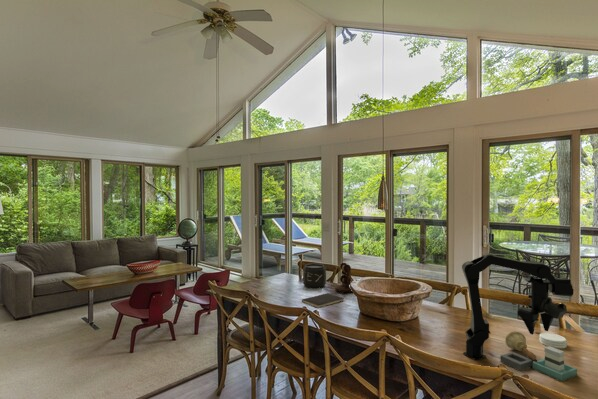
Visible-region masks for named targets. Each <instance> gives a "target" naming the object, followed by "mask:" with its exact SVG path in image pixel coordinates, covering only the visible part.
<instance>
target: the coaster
mask: <svg viewBox="0 0 598 399" xmlns="http://www.w3.org/2000/svg"><path fill="white" fill-rule="evenodd" d="M539 343H541V344H542V345H544V346H545V347H548V346H550V347H553V348H556V349H559V350H560V349H561V350H562V349H566V348H567V346H568V345H567V344H568V340H567V339H566V337H564V336H562V335H560V334H556V333H552V332H541V333H539Z"/></svg>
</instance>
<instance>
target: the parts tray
mask: <svg viewBox="0 0 598 399" xmlns="http://www.w3.org/2000/svg"><path fill="white" fill-rule="evenodd" d="M564 368H565V372H562V373H559V372H557V371H554V370H552V369H549V368H547V367H545V357H544V358H542V359H539V360H538V359H537V361H536V362H534V361H533V367H532V370H535V371H537V372H539V373H541V374H543V375H546V376H549V377H550V378H553V379H555V380H558V381H560V382H564V381H567V380H569V379H572V378H575V377H577V376H578V368H576V367H574V366H572V365H569V364H566V363H564Z"/></svg>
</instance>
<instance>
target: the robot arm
mask: <svg viewBox="0 0 598 399" xmlns="http://www.w3.org/2000/svg"><path fill="white" fill-rule="evenodd" d="M492 265H494V266H498V267H503V268H507V269H511V270H517V271H521V272H524V273H526V274H528V275H529V276H528V277H526V278H525V279H524V281H525V282H527V283H530V294H528V298H529V299H530V304H528V305H527V306H528V308H527V307H522V308H518V309H517V310H516V312H517V313H516V315H517V316H519V318H521V319H522V321H523V322H524V325H525V326H526V328H527V330H528V331H527V332H529V335H534V334H535V326H536V322H538V321H539V316H540V319H541V322H542V326H543V329H544V331H545V332H549V329H550V328H551V324H552V322H553V320H554V319H557V320H558V319H563V318H564V316H565V315H566V314H567V313H568V311H567V305H566V304H564V303H554V302H553V299H552V297H550V296H549V293H551V294H552V295H553V296H558V297H559V296H561V297H571V298H572V297H573V295H574V287H573V285H572V281H571V279H569V278H565V277H563V278H560V277H559V278H556V277H555V276H554V275H553V274H552V269H551V268H550V267H549V265H547V264H545V263H543V262H541V261H533V260H531V261H530V260H527V261H526V260H525V261H524V260H517V259H512V258H507V257H504V256H500V255H499V256H498V255H494V254H491V253H484V254H483V255H482V256H479V257H476V258H474V259H473V260H470V261H465V262H463V264H462V265H461V269H462V273H463V275H464V278H465V281H466V283H467V288H468V289H467V290H468V296H469V303H470V309H471V310H470V311H471V320H470V328H468V329H467V330H466V331H465V332H464V333H465V336H466V337H467V339H466V341H465V351H462V354H463V355H465V356H466V357H469V358H471V359H473V360H475V361H478V360H481V359H485V358H487V355H485V354H484V344H485V341H487V340H488V339H489V337H490V334H491V331H490V323H489V322H488V320H487V319H486V318H484V316H483V308H482V304H481V302H482V301H481V296H480V288H479V282H480V273H481V272H483V271H485V270H486V269H487V268H489V267H490V266H492ZM531 275H532V276H531ZM533 276H534V277H533ZM544 279H545V280H544Z"/></svg>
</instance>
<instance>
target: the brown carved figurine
mask: <svg viewBox="0 0 598 399" xmlns="http://www.w3.org/2000/svg"><path fill="white" fill-rule="evenodd" d="M340 269H341V274H342V275H341V276H340V278H339V280H340V282H341V284H338V285H336V286H335V291H338V292H340V294H343V292H344V293H346V292H348V293H349V292H350V293H351V292H352V291H351V289H350V288H349V285H351V284H352V278H351V277H352V276H351V269H352V268H351V266H350V265H349V264H348V263H346V262H342V263H341V264H340Z"/></svg>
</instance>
